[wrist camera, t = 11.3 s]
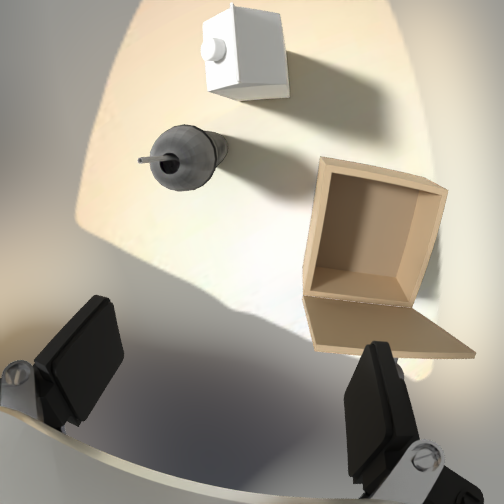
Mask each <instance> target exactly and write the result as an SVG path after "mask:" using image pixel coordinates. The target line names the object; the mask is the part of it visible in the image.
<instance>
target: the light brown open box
mask: <svg viewBox="0 0 504 504" xmlns="http://www.w3.org/2000/svg"><path fill="white" fill-rule="evenodd" d="M447 194H448V190H447V189H445V188H443V187H441V186H439V185H438V184H436V183H434V182H432V181H430V180H428V179H426V178H424V177H420V176H416V175H412V174H408V173H404V172H399V171H395V170H390V169H386V168H381V167H376V166H371V165H366V164H361V163H356V162H350V161H345V160H339V159H333V158H327V157H321V156H320V161H319V168H318V175H317V182H316V189H315V196H314V202H313V209H312V215H311V221H310V227H309V233H308V239H307V245H306V251H305V256H304V262H303V295H307V296H315V297H323V298H331V299H339V300H347V301H355V302H364V303H373V304H382V305H391V306H401V307H411V308H412V306H413V304H414V301H415V298H416V296H417V293H418V291H419V288H420V285H421V282H422V280H423V277H424V274H425V271H426V268H427V265H428V262H429V259H430V256H431V253H432V250H433V246H434V243H435V240H436V236H437V233H438V229H439V226H440V222H441V218H442V215H443V210H444V207H445V203H446V198H447Z"/></svg>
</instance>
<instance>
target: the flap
mask: <svg viewBox="0 0 504 504" xmlns="http://www.w3.org/2000/svg"><path fill="white" fill-rule="evenodd" d="M302 301H303V305H304V309H305V313H306V317H307V321H308V325H309V329H310V333H311V338H312V342H313V346H314V350H315V351H317V352H326V353H337V354H348V355H361V356H362V353H363V351H364V348H365V346H366V345H367V344H371V342H372V341H384V342H388V343H389V345H390V348H391V351H392V355H393V358H394V361H395V365H396V368H397V371H398V375H399V378H402V379H403V380H404V373H403V370H402V368H401V367H400V366H399V365H398V364H397V360H398V358H420V359H472V358H473V359H474V358H475V355H476V352H475V351H473V350H472V349H470V348H469V347H468V346H466V345H465V344H463V343H462V342H461V341H459V340H458V339H456V338H455V337H453V336H452V335H451V334H449V333H448V332H446V331H445V330H444V329H442V328H441V327H439V326H438V325H436V324H435V323H433V322H432V321H430V320H429V319H428V318H426V317H425V316H423V315H422V314H420V313H419V312H417V311H416V310H414V309H413V308H407V307H397V306H388V305H378V304H369V303H361V302H352V301H344V300H335V299H327V298H320V297H312V296H304V295H303V298H302Z"/></svg>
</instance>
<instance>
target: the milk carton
mask: <svg viewBox="0 0 504 504" xmlns="http://www.w3.org/2000/svg"><path fill="white" fill-rule="evenodd" d="M203 41H204V42H203V43H202V46H201V55H202V58H203V59H204V60H205V68H206V80H207V89H208V92H211V93H215V94H218V95H221V96H224V97H227V98H230V99H233V100H236V101H246V100H258V99H273V98H289V97H290V91H289V78H288V66H287V56H286V48H285V41H284V35H283V29H282V23H281V17H280V14H278V13H273V12H268V11H262V10H256V9H250V8H243V7H235V6H234V4H233V2H231V3H230V8H229V9H227V10H225V11H224V12H222V13H220V14H218V15H216V16H214V17H212V18H211V19H209V20H207V21H205V22H204V23H203Z"/></svg>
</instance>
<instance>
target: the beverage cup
mask: <svg viewBox="0 0 504 504" xmlns="http://www.w3.org/2000/svg"><path fill="white" fill-rule="evenodd" d="M227 151H228V145H227V142H226V140H225V138H224V137H223V136H222V135H220V134H218V133H215V132H210V131H203V130H201V129H200V128H198V127H196V126H192V125H185V124H184V125H179V126H174V127H172V128H171V129H169V130H167V131H165V132H164V133H163V134H161V136H160V137H159V138H158V139H157V140H156V141H155V143H154V145H153V147H152V149H151V151H150V157H141V158H138V163H149V162H150V168H151V171H152V173H153V175H154V177H155V179H156V180H157V181H158V182H159V183H160V184H161V185H163V186H164V187H166V188H168V189H170V190H175V191H189V190H195V189H197V188H199V187H201V186H203V185H204V184H205V183H206V182H207V181H209V180H210V179H211V177H212V175H213V173H214V171H215V169H216V167H217V166H218V165H219V164H220V163H221V162H222V161H223V159H224V158H225V156H226V154H227Z"/></svg>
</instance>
